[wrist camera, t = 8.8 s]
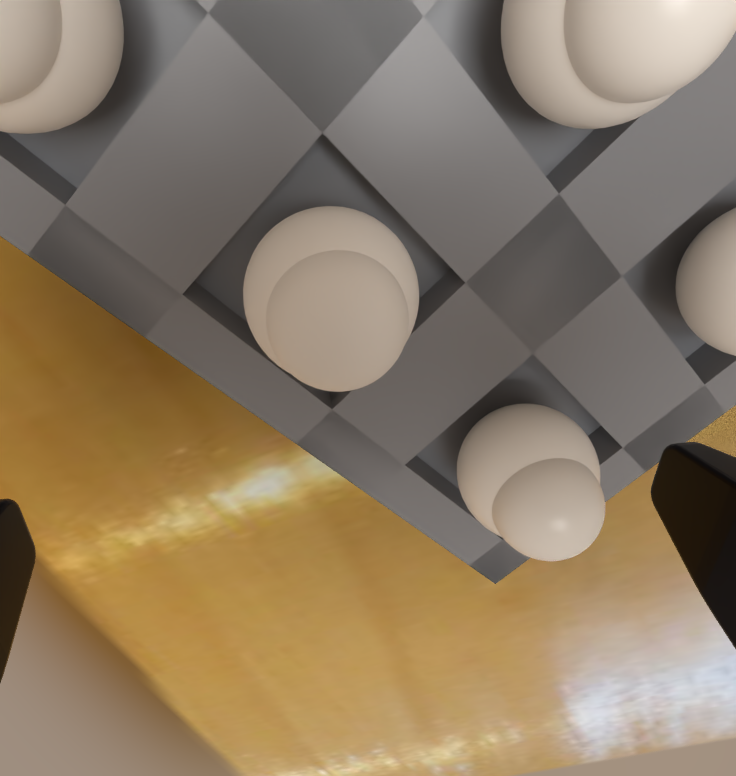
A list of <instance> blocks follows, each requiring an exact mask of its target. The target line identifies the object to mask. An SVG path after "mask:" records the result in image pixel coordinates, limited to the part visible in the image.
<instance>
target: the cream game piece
mask: <svg viewBox="0 0 736 776" xmlns="http://www.w3.org/2000/svg"><path fill="white" fill-rule="evenodd" d="M243 301H244V310H245V315H246V319H247V322H248V325H249V327H250V330H251V332H252V334H253V336H254V338H255V340H256V341H257V343H258V344H259V346H260V348H261V349H262V350H263V351H264V352H265V353H266V355H267V356H268V357H269V358H270V359H271V360H272V361H273V362H275V363H276V364H277V365H278V366H279V367H281V368H282V369H284V370H285V371H287V372H288V373H290V374H292V375H293V376H294V377H295V378H297V379H298V380H300V381H301V382H303V383H305V384H307V385H309V386H312V387H315V388H317V389H321V390H325V391H333V392H343V391H351V390H355V389H359V388H362V387H365V386H367V385H369V384H371V383H373V382H375V381H376V380H378V379H379V378H380V377H382V376H383V375H384V374H385V373H386V372H387V371H388V370H389V369H390V368H391V367H392V366H393V365H394V363H395V362H396V361H397V359H398V358H399V356H400V354H401V352H402V350H403V348H404V345H405V344H406V342H407V340H408V338H409V337H410V335H411V332H412V330H413V327H414V324H415V321H416V317H417V313H418V307H419V286H418V279H417V274H416V271H415V267H414V265H413V262H412V260H411V258H410V256H409V253H408V252H407V250H406V248H405V247H404V245H403V244H402V242H401V241H400V240H399V239H398V237H397V236H396V235H395V234H394V233H393V232H392V231H391V230H390V229H389V228H388V227H386V226H385V225H384V224H383V223H381V222H380V221H378V220H377V219H375V218H374V217H372V216H370V215H368V214H366V213H364V212H361V211H358V210H355V209H351V208H346V207H338V206H322V207H315V208H310V209H306V210H303V211H300V212H297V213H295V214H293V215H291V216H289V217H287V218H285V219H284V220H282V221H281V222H280V223H278V224H277V225H275V226H274V227H273V228H272V229H271V230H270V231H269V232H268V233H267V234H266V235H265V236H264V237H263V239H262V240H261V241H260V242H259V244H258V245H257V247H256V249H255V250H254V252H253V254H252V256H251V259H250V261H249V264H248V266H247V270H246V274H245V278H244V286H243Z"/></svg>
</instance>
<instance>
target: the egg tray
mask: <svg viewBox="0 0 736 776" xmlns="http://www.w3.org/2000/svg"><path fill="white" fill-rule="evenodd" d="M322 206H338V207H346V208H351V209H355V210H358V211H361V212H364V213H366V214H368V215H370V216H372V217H374V218H375V219H377V220H378V221H380V222H381V223H383V224H384V225H385V226H386V227H388V228H389V229H390V230H391V231H392V232H393V233H394V234H395V235H396V236H397V237H398V239H399V240H400V241H401V242H402V244H403V245H404V247H405V248H406V250H407V252H408V253H409V256H410V258H411V260H412V262H413V265H414V267H415V271H416V274H417V279H418V286H419V307H418V313H417V317H416V321H415V324H414V327H413V330H412V332H411V335H410V337H409V338H408V340H407V342H406V344H405V345H404V348H403V350H402V352H401V354H400V356H399V358H398V359H397V361H396V362H395V363H394V365H393V366H392V367H391V368H390V369H389V370H388V371H387V372H386V373H385V374H384V375H383V376H382V377H380V378H379V379H378V380H376V381H375V382H373V383H371V384H369V385H367V386H365V387H362V388H359V389H355V390H351V391H343V392H333V391H325V390H321V389H317V388H315V387H312V386H309V385H307V384H305V383H303V382H301V381H300V380H298V379H297V378H295V377H294V376H293V375H292V374H290V373H288V372H287V371H285V370H284V369H282V368H281V367H279V366H278V365H277V364H276V363H275V362H273V361H272V360H271V359H270V358H269V357H268V356H267V355H266V353H265V352H264V351H263V350H262V349H261V348H260V346H259V344H258V343H257V341H256V340H255V338H254V336H253V334H252V332H251V330H250V327H249V325H248V322H247V319H246V315H245V310H244V301H243V286H244V278H245V274H246V270H247V266H248V264H249V261H250V259H251V256H252V254H253V252H254V250H255V249H256V247H257V245H258V244H259V242H260V241H261V240H262V239H263V237H264V236H265V235H266V234H267V233H268V232H269V231H270V230H271V229H272V228H273V227H274V226H275V225H277V224H278V223H280V222H281V221H282V220H284V219H285V218H287V217H289V216H291V215H293V214H295V213H297V212H300V211H303V210H306V209H310V208H315V207H322ZM0 236H1V237H3V238H4V239H5V240H7V241H8V242H10V243H11V244H13V245H14V246H15V247H17V248H18V249H20V250H21V251H22V252H24V253H25V254H27V255H28V256H30V257H31V258H32V259H34V260H35V261H37V262H38V263H40V264H41V265H42V266H44V267H45V268H47V269H48V270H50V271H51V272H52V273H54V274H55V275H57V276H58V277H59V278H61V279H62V280H64V281H65V282H67V283H68V284H69V285H71V286H72V287H74V288H75V289H77V290H78V291H79V292H81V293H82V294H84V295H85V296H87V297H88V298H89V299H91V300H92V301H94V302H95V303H96V304H98V305H99V306H101V307H102V308H104V309H105V310H106V311H108V312H109V313H111V314H112V315H114V316H115V317H116V318H118V319H119V320H121V321H122V322H124V323H125V324H126V325H128V326H129V327H131V328H132V329H133V330H135V331H136V332H138V333H139V334H141V335H142V336H143V337H145V338H146V339H148V340H149V341H151V342H152V343H153V344H155V345H156V346H158V347H159V348H161V349H162V350H163V351H165V352H166V353H168V354H169V355H170V356H172V357H173V358H175V359H176V360H178V361H179V362H180V363H182V364H183V365H185V366H186V367H188V368H189V369H190V370H192V371H193V372H195V373H196V374H198V375H199V376H200V377H202V378H203V379H205V380H206V381H207V382H209V383H210V384H212V385H213V386H215V387H216V388H217V389H219V390H220V391H222V392H223V393H225V394H226V395H227V396H229V397H230V398H232V399H233V400H235V401H236V402H237V403H239V404H240V405H242V406H243V407H244V408H246V409H247V410H249V411H250V412H252V413H253V414H254V415H256V416H257V417H259V418H260V419H262V420H263V421H264V422H266V423H267V424H269V425H270V426H272V427H273V428H274V429H276V430H277V431H279V432H280V433H281V434H283V435H284V436H286V437H287V438H289V439H290V440H291V441H293V442H294V443H296V444H297V445H299V446H300V447H301V448H303V449H304V450H306V451H307V452H309V453H310V454H311V455H313V456H314V457H316V458H317V459H318V460H320V461H321V462H323V463H324V464H326V465H327V466H328V467H330V468H331V469H333V470H334V471H336V472H337V473H338V474H340V475H341V476H343V477H344V478H346V479H347V480H348V481H350V482H351V483H353V484H354V485H355V486H357V487H358V488H360V489H361V490H363V491H364V492H365V493H367V494H368V495H370V496H371V497H373V498H374V499H375V500H377V501H378V502H380V503H381V504H383V505H384V506H385V507H387V508H388V509H390V510H391V511H392V512H394V513H395V514H397V515H398V516H400V517H401V518H402V519H404V520H405V521H407V522H408V523H410V524H411V525H412V526H414V527H415V528H417V529H418V530H420V531H421V532H422V533H424V534H425V535H427V536H428V537H430V538H431V539H432V540H434V541H435V542H437V543H438V544H439V545H441V546H442V547H444V548H445V549H447V550H448V551H449V552H451V553H452V554H454V555H455V556H457V557H458V558H459V559H461V560H462V561H464V562H465V563H467V564H468V565H469V566H471V567H472V568H474V569H475V570H476V571H478V572H479V573H481V574H482V575H484V576H485V577H486V578H488V579H489V580H491V581H492V582H494V583H495V584H496V583H497V582H499V581H500V580H501V579H503V578H504V577H505V576H507V575H508V574H509V573H511V572H512V571H513V570H515V569H516V568H517V567H519V566H520V565H521V564H523V563H524V562H525V561H527V560H528V559H529V558H533V559H537V560H543V561H560V560H565V559H569V558H572V557H574V556H576V555H578V554H580V553H581V552H583V551H584V550H586V549H587V548H588V547H589V546H590V545H591V544H592V543H593V542H594V540H595V539H596V538H597V536H598V534H599V533H600V530H601V528H602V525H603V522H604V517H605V502H606V501H607V500H609V499H610V498H611V497H613V496H614V495H615V494H617V493H618V492H619V491H621V490H622V489H623V488H625V487H626V486H627V485H629V484H630V483H631V482H633V481H634V480H636V479H637V478H638V477H640V476H641V475H642V474H644V473H645V472H646V471H648V470H649V469H650V468H652V467H653V466H654V465H656V464H657V463H658V462H659V461H660V458H661V455H662V452H663V450H664V449H665V448H666V447H667V446H668V445H670V444H674V443H685V442H687V441H688V440H689V439H691V438H692V437H693V436H695V435H696V434H697V433H699V432H700V431H701V430H703V429H704V428H705V427H707V426H708V425H709V424H711V423H712V422H713V421H715V420H716V419H717V418H719V417H720V416H721V415H723V414H724V413H725V412H727V411H728V410H729V409H731V408H732V407H733V406H735V405H736V0H0Z"/></svg>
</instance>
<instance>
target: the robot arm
mask: <svg viewBox="0 0 736 776" xmlns="http://www.w3.org/2000/svg"><path fill="white" fill-rule="evenodd" d="M651 497H652V501H653V504H654V506H655V508H656V510H657V512H658V514H659V516H660V518H661V520H662V522H663V524H664V526H665V527H666V529H667V531H668V533H669V535H670V537H671V539H672V541H673V543H674V545H675V547H676V549H677V551H678V552H679V554H680V556H681V558H682V560H683V562H684V564H685V566H686V568H687V570H688V572H689V574H690V576H691V577H692V579H693V581H694V583H695V585H696V587H697V588H698V590H699V592H700V594H701V596H702V597H703V599H704V600H705V602H706V604H707V605H708V607H709V609H710V610H711V612H712V613H713V615H714V616H715V618H716V620H717V621H718V623H719V624H720V626H721V627H722V629H723V630H724V632H725V633H726V635H727V636H728V638H729V640H730V641H731V643H732V644H733V646H734V647H735V649H736V457H733V456H731V455H728V454H726V453H723V452H721V451H718V450H716V449H713V448H711V447H708V446H706V445H703V444H701V443H697V442H686V443H674V444H670V445H668V446H667V447H666V448H665V449H664V450H663V452H662V455H661V458H660V461H659V465H658V468H657V471H656V474H655V477H654V480H653V483H652V487H651ZM35 557H36V553H35V546H34V542H33V540H32V537H31V535H30V532H29V530H28V527H27V525H26V522H25V520H24V517H23V515H22V512H21V510H20V508H19V506H18V504H17V503H16V502H15V501H13V500H11V499H0V682H1V679H2V677H3V674H4V670H5V667H6V664H7V661H8V658H9V654H10V650H11V647H12V643H13V639H14V636H15V632H16V629H17V625H18V621H19V618H20V614H21V611H22V607H23V603H24V600H25V596H26V593H27V589H28V586H29V582H30V578H31V575H32V571H33V568H34V564H35Z"/></svg>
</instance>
